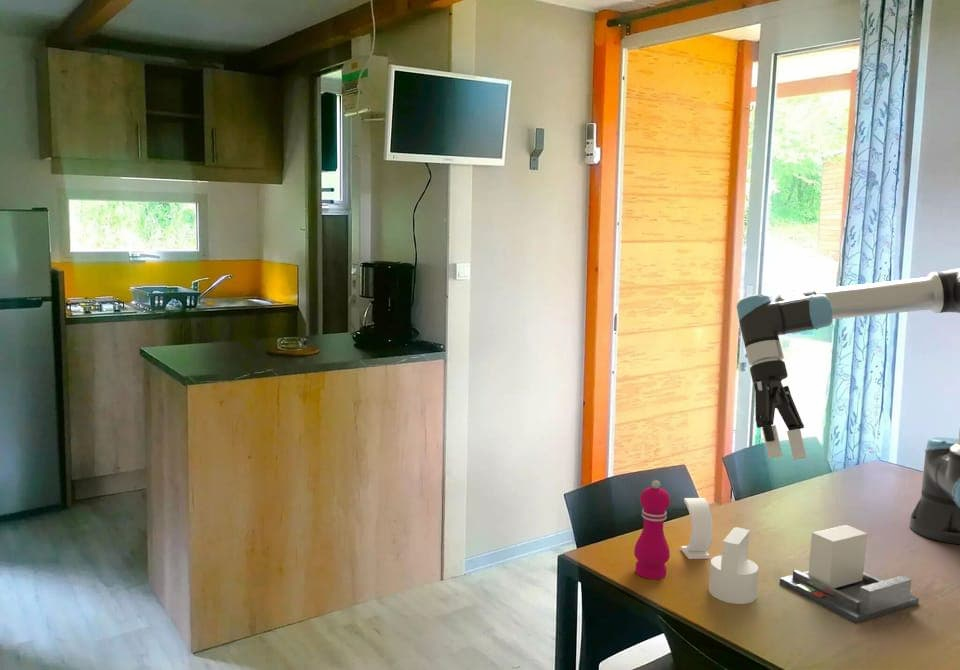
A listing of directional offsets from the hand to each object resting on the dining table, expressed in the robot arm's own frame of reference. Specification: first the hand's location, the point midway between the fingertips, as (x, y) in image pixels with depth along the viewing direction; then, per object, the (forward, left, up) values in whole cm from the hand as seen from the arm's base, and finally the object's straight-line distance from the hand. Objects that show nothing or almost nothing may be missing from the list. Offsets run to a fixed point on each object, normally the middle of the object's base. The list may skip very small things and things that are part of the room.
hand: (788, 458), depth 174 cm
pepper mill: (+31, -6, -23) cm, 39 cm away
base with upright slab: (+22, +8, -23) cm, 33 cm away
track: (+1, +18, -23) cm, 29 cm away
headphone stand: (+16, -9, -23) cm, 29 cm away
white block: (+1, +15, -21) cm, 26 cm away
